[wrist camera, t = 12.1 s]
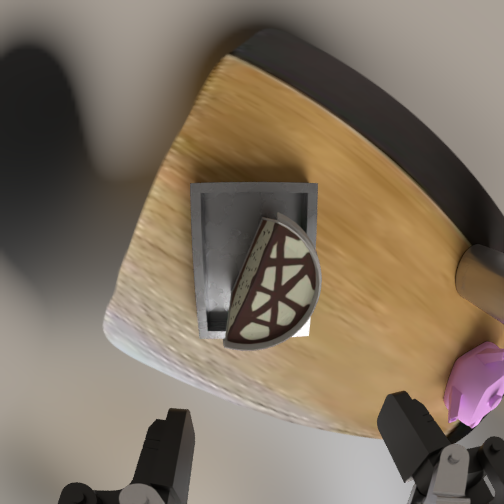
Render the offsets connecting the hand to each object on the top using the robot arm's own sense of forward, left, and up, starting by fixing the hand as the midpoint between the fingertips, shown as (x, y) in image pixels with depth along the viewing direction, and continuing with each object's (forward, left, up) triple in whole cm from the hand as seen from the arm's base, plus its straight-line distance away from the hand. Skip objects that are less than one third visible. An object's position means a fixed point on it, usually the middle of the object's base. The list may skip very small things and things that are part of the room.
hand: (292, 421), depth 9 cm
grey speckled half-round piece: (-2, +1, -23) cm, 23 cm away
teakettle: (-45, +26, -24) cm, 57 cm away
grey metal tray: (0, 0, -23) cm, 23 cm away
